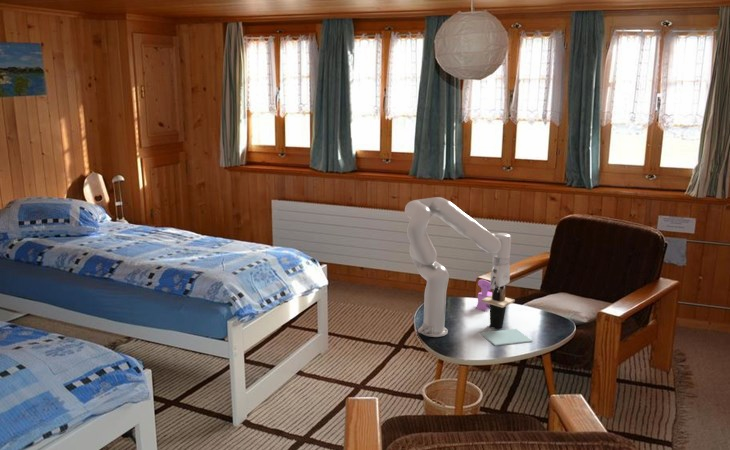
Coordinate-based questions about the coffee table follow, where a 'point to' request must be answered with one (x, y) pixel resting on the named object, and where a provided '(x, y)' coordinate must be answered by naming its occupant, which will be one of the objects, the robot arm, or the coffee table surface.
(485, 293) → the toy chair
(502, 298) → the lid
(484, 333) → the mat
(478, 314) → the coffee table surface
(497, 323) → the cup
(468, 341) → the coffee table surface
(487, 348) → the coffee table surface
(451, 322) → the coffee table surface
